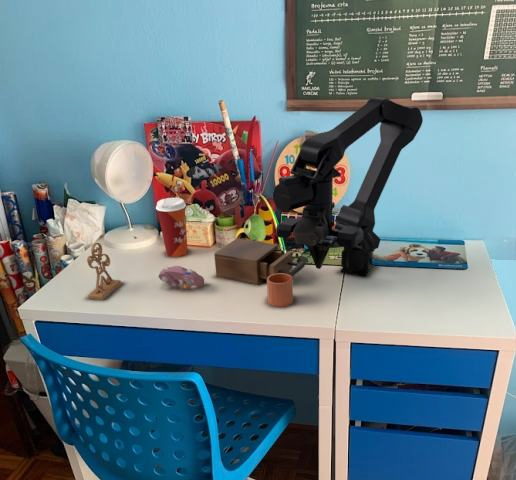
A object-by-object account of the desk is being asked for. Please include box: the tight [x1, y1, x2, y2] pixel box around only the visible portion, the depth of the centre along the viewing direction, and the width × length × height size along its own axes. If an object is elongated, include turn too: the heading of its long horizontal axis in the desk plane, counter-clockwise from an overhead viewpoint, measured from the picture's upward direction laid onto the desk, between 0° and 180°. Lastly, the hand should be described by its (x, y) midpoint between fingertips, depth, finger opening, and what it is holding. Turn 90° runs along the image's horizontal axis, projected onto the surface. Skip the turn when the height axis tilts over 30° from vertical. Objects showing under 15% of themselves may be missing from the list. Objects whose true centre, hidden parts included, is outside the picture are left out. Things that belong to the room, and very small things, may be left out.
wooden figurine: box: [86, 242, 122, 301], centre depth 136 cm, size 9×4×12 cm, turn 163°
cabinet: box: [213, 237, 279, 285], centre depth 142 cm, size 12×11×6 cm
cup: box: [266, 273, 294, 308], centre depth 128 cm, size 6×6×6 cm
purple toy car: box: [158, 265, 205, 290], centre depth 137 cm, size 10×5×7 cm, turn 70°
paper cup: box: [155, 197, 188, 258], centre depth 153 cm, size 8×8×14 cm
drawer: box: [258, 250, 306, 280], centre depth 139 cm, size 15×9×4 cm, turn 61°
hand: (318, 268), depth 133 cm, fingers closed
